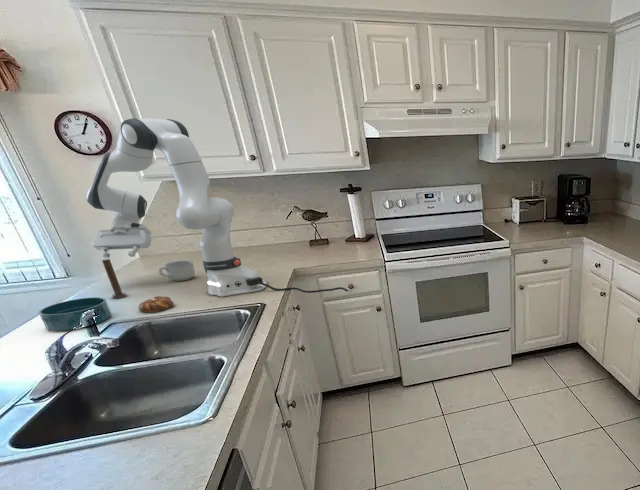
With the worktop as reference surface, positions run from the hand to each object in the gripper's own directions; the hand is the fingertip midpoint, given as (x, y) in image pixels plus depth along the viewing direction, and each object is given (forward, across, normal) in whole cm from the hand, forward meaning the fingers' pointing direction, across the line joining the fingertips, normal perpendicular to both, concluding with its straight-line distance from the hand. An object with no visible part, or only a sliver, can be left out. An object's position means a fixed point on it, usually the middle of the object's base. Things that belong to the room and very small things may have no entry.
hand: (118, 256), depth 175 cm
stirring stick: (+17, 0, +5) cm, 17 cm away
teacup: (+2, +13, +20) cm, 24 cm away
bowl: (+36, +3, -14) cm, 39 cm away
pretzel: (+29, +23, -7) cm, 38 cm away
